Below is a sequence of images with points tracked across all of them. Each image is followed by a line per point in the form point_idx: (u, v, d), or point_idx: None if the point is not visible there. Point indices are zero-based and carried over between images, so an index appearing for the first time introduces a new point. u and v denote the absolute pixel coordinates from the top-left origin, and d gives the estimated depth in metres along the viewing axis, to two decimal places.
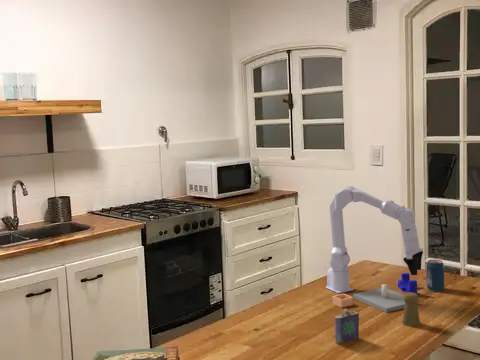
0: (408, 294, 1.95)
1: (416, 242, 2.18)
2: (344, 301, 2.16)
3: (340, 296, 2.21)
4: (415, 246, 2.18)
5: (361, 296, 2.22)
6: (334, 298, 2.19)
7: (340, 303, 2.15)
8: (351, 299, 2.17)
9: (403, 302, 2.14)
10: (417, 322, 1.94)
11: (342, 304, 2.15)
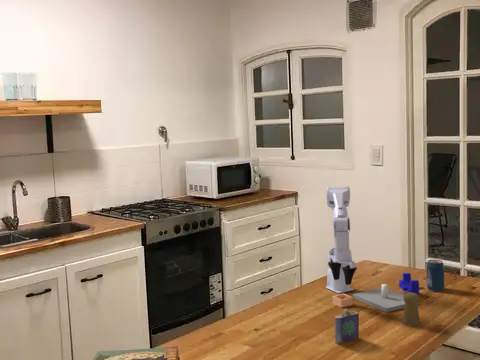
0: (408, 294, 1.95)
1: (334, 251, 2.17)
2: (344, 301, 2.16)
3: (340, 296, 2.21)
4: None
5: (361, 296, 2.22)
6: (334, 298, 2.19)
7: (340, 303, 2.15)
8: (351, 299, 2.17)
9: (403, 302, 2.14)
10: (417, 322, 1.94)
11: (342, 304, 2.15)
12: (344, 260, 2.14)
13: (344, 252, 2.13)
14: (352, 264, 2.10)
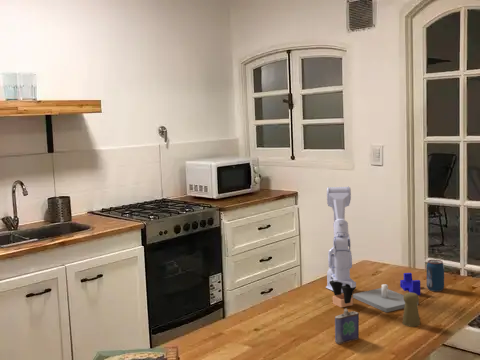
0: (408, 294, 1.95)
1: (334, 270, 2.17)
2: (344, 301, 2.16)
3: (340, 296, 2.21)
4: None
5: (361, 296, 2.22)
6: (334, 298, 2.19)
7: (340, 303, 2.15)
8: (351, 299, 2.17)
9: (403, 302, 2.14)
10: (417, 322, 1.94)
11: (342, 304, 2.15)
12: (344, 279, 2.15)
13: (344, 271, 2.14)
14: (352, 284, 2.11)
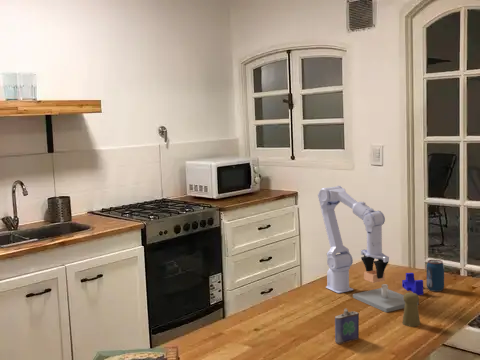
0: (408, 294, 1.95)
1: (367, 245, 2.18)
2: (376, 276, 2.16)
3: (371, 272, 2.21)
4: (367, 248, 2.18)
5: (361, 296, 2.22)
6: (365, 274, 2.19)
7: (372, 278, 2.15)
8: (383, 275, 2.17)
9: (403, 302, 2.14)
10: (417, 322, 1.94)
11: (374, 280, 2.15)
12: (377, 254, 2.15)
13: (376, 246, 2.15)
14: (385, 258, 2.11)
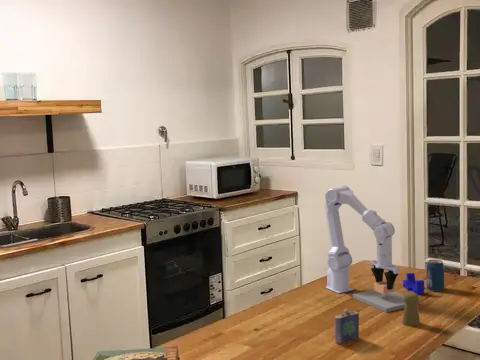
0: (408, 294, 1.95)
1: (377, 256, 2.19)
2: None
3: (381, 283, 2.22)
4: (377, 259, 2.19)
5: (361, 296, 2.22)
6: (376, 285, 2.20)
7: (382, 290, 2.16)
8: (393, 286, 2.18)
9: (403, 302, 2.14)
10: (417, 322, 1.94)
11: (384, 291, 2.16)
12: (387, 266, 2.16)
13: (387, 257, 2.16)
14: (396, 270, 2.12)
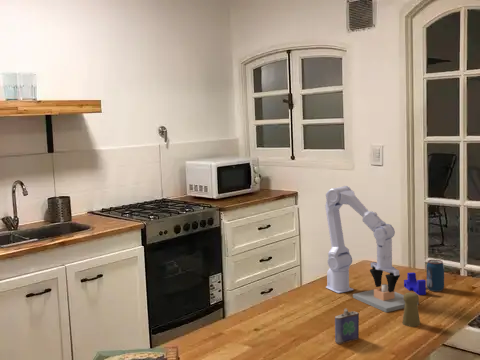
0: (408, 294, 1.95)
1: (377, 258, 2.19)
2: (386, 294, 2.17)
3: (381, 289, 2.22)
4: (377, 261, 2.19)
5: (361, 296, 2.22)
6: (375, 291, 2.20)
7: (382, 296, 2.17)
8: (393, 292, 2.18)
9: (403, 302, 2.14)
10: (417, 322, 1.94)
11: (384, 298, 2.16)
12: (387, 267, 2.16)
13: (387, 259, 2.16)
14: (396, 272, 2.12)
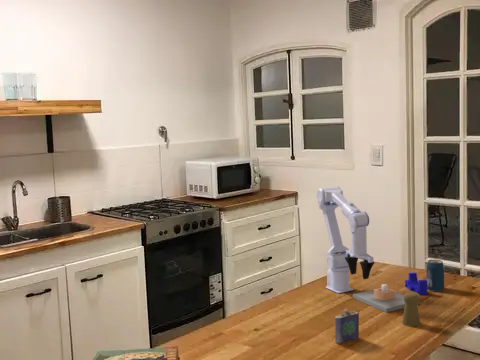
0: (408, 294, 1.95)
1: None
2: (386, 294, 2.17)
3: (381, 289, 2.22)
4: None
5: (361, 296, 2.22)
6: (375, 291, 2.20)
7: (382, 296, 2.17)
8: (393, 292, 2.18)
9: (403, 302, 2.14)
10: (417, 322, 1.94)
11: (384, 298, 2.16)
12: (362, 255, 2.16)
13: (361, 247, 2.16)
14: (370, 258, 2.12)
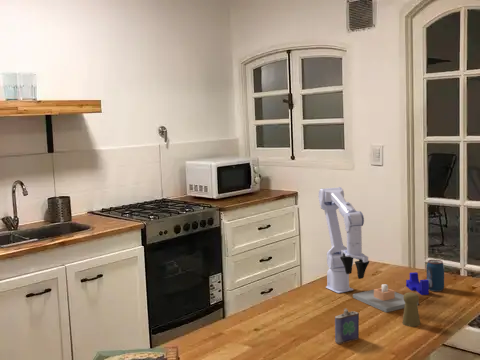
0: (408, 294, 1.95)
1: (347, 245, 2.19)
2: (386, 294, 2.17)
3: (381, 289, 2.22)
4: None
5: (361, 296, 2.22)
6: (375, 291, 2.20)
7: (382, 296, 2.17)
8: (393, 292, 2.18)
9: (403, 302, 2.14)
10: (417, 322, 1.94)
11: (384, 298, 2.16)
12: (356, 254, 2.16)
13: (356, 246, 2.16)
14: (365, 258, 2.12)
